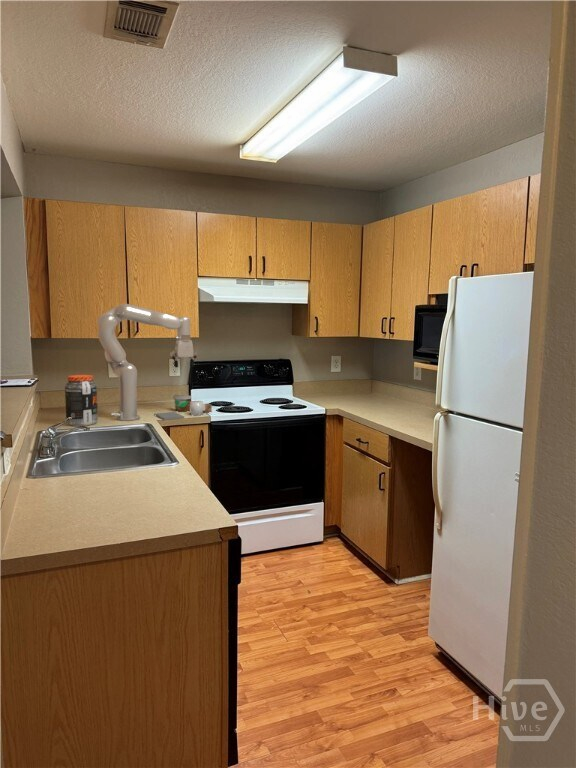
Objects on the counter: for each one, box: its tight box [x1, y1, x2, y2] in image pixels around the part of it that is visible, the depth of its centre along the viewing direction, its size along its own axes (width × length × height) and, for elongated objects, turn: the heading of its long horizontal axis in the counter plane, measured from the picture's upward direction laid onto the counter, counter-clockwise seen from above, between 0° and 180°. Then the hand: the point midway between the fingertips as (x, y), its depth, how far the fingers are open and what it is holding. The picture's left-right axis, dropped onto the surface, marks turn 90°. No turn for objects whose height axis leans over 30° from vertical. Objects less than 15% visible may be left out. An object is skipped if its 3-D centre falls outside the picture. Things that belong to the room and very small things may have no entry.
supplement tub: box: [64, 374, 99, 427], centre depth 273 cm, size 16×16×26 cm
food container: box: [172, 393, 192, 413], centre depth 314 cm, size 12×6×10 cm, turn 62°
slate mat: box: [153, 411, 185, 421], centre depth 298 cm, size 12×16×1 cm
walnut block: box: [203, 403, 213, 414], centre depth 312 cm, size 5×5×5 cm
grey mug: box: [190, 400, 206, 417], centre depth 304 cm, size 8×7×8 cm
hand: (184, 366), depth 304 cm, fingers open, 9 cm apart
